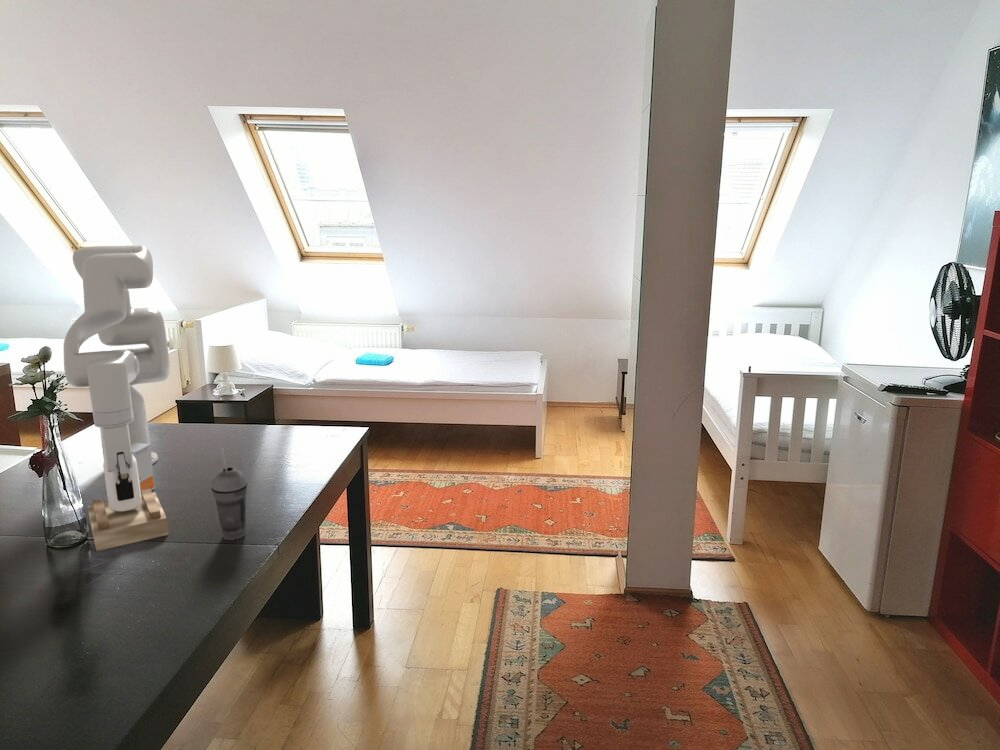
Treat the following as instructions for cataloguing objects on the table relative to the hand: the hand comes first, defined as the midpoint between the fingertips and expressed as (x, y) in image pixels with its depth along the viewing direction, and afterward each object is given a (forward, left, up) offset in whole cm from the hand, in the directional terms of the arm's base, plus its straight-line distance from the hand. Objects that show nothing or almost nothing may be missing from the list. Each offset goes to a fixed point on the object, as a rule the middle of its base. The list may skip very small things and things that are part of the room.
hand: (123, 492), depth 161 cm
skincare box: (-20, +5, -9) cm, 22 cm away
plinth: (0, 0, -8) cm, 8 cm away
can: (0, 0, -3) cm, 3 cm away
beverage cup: (+16, +19, -9) cm, 26 cm away
